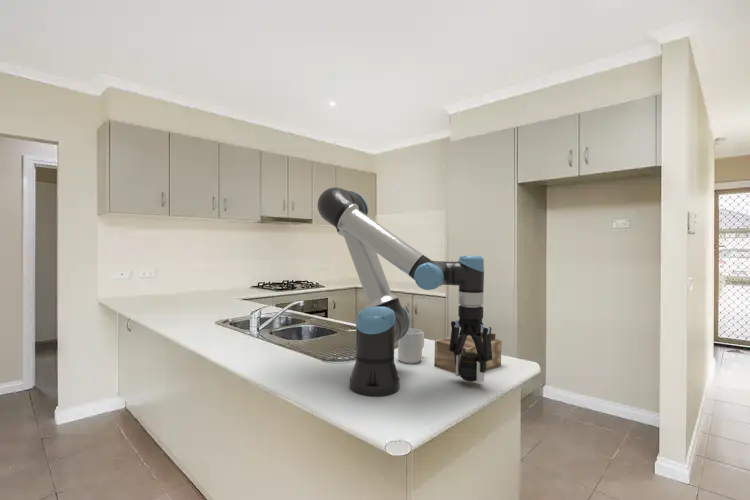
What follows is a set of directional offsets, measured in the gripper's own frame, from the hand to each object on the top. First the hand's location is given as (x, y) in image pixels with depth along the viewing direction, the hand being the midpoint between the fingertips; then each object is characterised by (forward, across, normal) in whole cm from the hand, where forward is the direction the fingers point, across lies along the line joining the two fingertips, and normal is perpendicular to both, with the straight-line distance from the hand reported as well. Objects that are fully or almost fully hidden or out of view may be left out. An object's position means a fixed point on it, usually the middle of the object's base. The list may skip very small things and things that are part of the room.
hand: (469, 378), depth 123 cm
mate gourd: (0, 0, 0) cm, 0 cm away
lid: (-6, +12, -15) cm, 20 cm away
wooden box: (+2, +12, -15) cm, 19 cm away
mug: (+2, +29, -4) cm, 29 cm away
